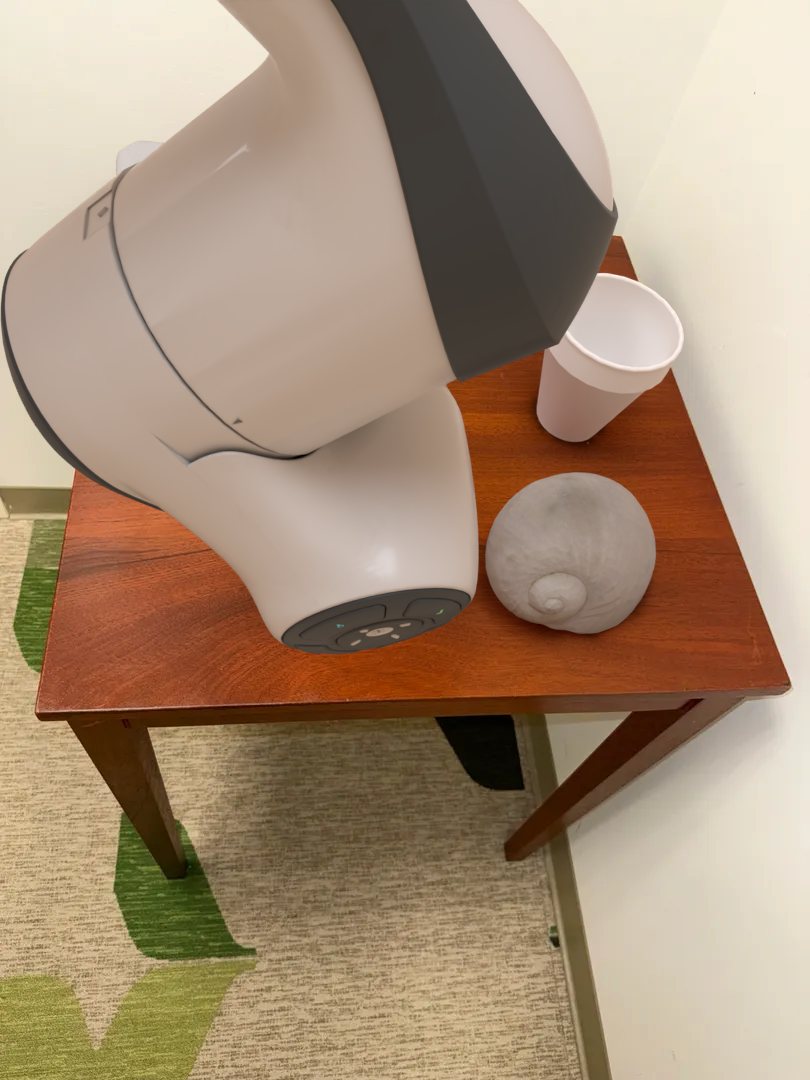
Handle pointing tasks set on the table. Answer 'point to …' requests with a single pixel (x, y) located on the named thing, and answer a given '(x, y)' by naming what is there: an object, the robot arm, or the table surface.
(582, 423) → the cup
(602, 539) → the seashell
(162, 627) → the table surface
